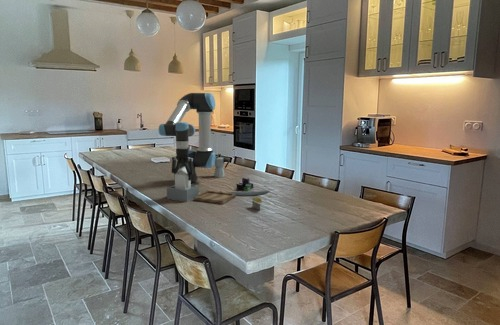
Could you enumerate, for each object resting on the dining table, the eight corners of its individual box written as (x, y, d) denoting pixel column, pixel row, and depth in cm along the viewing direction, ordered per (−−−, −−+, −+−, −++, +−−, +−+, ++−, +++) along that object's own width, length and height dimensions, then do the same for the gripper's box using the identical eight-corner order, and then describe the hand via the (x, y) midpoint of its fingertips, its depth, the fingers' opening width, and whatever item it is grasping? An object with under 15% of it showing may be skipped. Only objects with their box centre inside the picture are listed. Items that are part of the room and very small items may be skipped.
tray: (193, 200, 214) (193, 197, 214) (207, 193, 230) (207, 190, 230) (223, 204, 207) (223, 200, 207) (235, 196, 223) (235, 193, 223)
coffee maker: (209, 176, 281) (209, 154, 278) (214, 174, 289) (214, 152, 286) (226, 178, 276) (226, 155, 273) (231, 176, 284) (231, 154, 281)
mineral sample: (274, 186, 255) (274, 173, 253) (263, 198, 221) (262, 183, 220) (229, 185, 264) (228, 173, 263) (211, 196, 231) (210, 183, 229)
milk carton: (191, 196, 222) (190, 166, 219) (185, 199, 215) (184, 168, 212) (181, 195, 224) (180, 166, 221) (175, 198, 218) (174, 168, 214)
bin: (167, 199, 216) (166, 187, 215) (179, 193, 229) (179, 183, 228) (187, 201, 211) (187, 190, 210) (198, 196, 224) (198, 185, 223)
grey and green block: (257, 203, 211) (258, 193, 210) (275, 211, 196) (275, 200, 194) (240, 206, 204) (240, 195, 203) (257, 215, 189) (257, 203, 188)
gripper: (164, 147, 215) (165, 184, 218) (193, 149, 208) (194, 187, 211) (171, 146, 222) (172, 182, 225) (200, 148, 214) (200, 185, 218)
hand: (182, 184), depth 218 cm, fingers closed on milk carton, 7 cm apart
